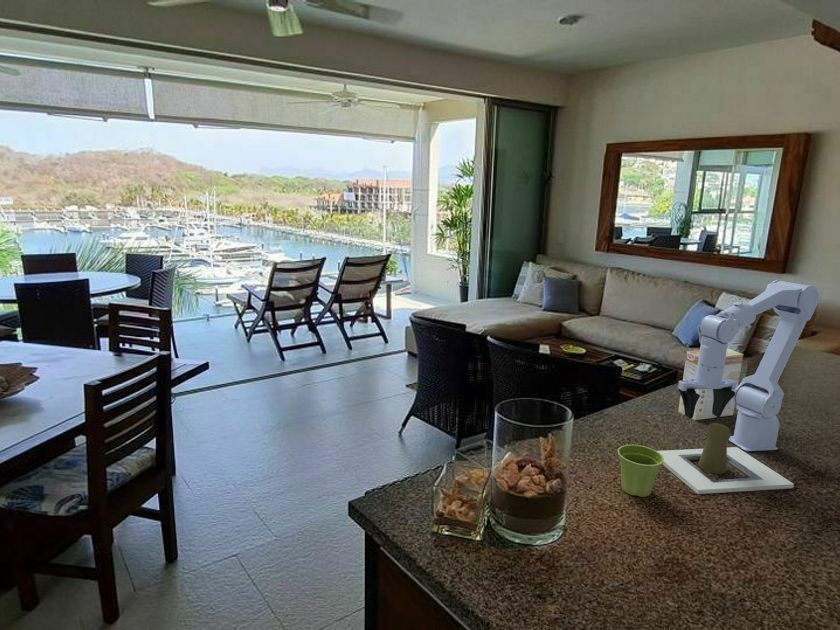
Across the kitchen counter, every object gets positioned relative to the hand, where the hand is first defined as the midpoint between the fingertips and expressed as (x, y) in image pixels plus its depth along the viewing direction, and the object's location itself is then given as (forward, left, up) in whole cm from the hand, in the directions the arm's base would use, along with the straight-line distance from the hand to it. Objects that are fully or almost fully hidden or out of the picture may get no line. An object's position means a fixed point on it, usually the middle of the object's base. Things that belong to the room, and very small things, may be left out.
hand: (702, 416), depth 135 cm
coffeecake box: (-20, -24, -11) cm, 33 cm away
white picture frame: (0, +8, -10) cm, 13 cm away
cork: (+1, +7, -11) cm, 13 cm away
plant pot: (+25, +14, -11) cm, 31 cm away
